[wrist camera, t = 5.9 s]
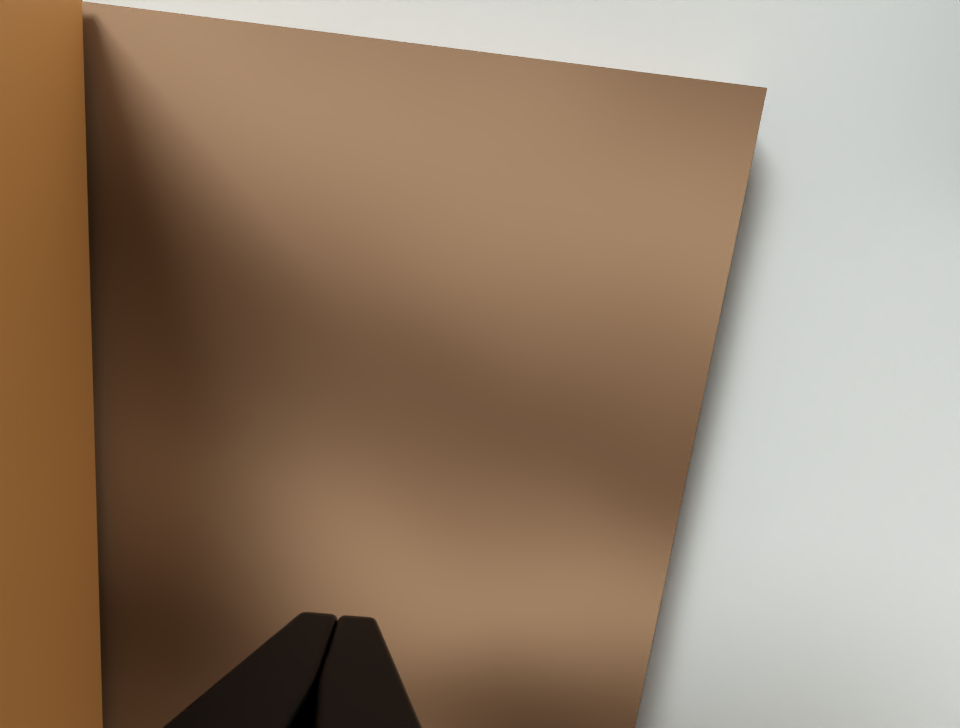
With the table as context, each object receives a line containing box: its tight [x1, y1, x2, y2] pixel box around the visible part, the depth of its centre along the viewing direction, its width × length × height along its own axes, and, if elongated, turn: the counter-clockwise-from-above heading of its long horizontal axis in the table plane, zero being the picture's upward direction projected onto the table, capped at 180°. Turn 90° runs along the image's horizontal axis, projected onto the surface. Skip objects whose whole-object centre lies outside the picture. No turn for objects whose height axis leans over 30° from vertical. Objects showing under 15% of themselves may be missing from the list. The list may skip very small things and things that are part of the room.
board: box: [82, 1, 767, 728], centre depth 14 cm, size 22×22×2 cm
